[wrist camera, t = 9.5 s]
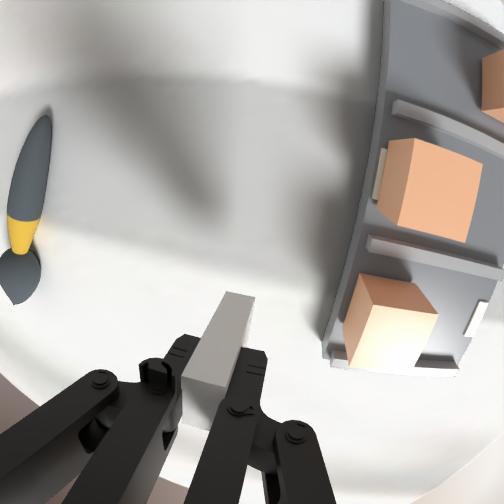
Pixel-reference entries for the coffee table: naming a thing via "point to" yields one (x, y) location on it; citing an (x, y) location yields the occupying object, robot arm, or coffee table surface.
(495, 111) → the tab
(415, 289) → the tan cube
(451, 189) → the peach cube
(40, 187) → the paintbrush
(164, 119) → the coffee table surface
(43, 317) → the coffee table surface
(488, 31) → the switch bank
